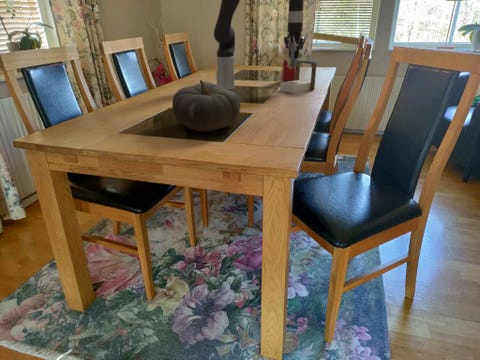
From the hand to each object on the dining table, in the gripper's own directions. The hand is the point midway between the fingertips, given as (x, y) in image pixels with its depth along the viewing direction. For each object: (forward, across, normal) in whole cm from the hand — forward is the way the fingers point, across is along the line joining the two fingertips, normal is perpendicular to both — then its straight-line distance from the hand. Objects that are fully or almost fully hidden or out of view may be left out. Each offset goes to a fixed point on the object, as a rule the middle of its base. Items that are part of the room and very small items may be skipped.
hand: (293, 57), depth 175 cm
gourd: (+17, +27, -69) cm, 76 cm away
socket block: (+17, 0, +2) cm, 17 cm away
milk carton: (+17, -19, +14) cm, 29 cm away
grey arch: (+17, 0, +8) cm, 18 cm away
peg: (+4, 0, 0) cm, 4 cm away
